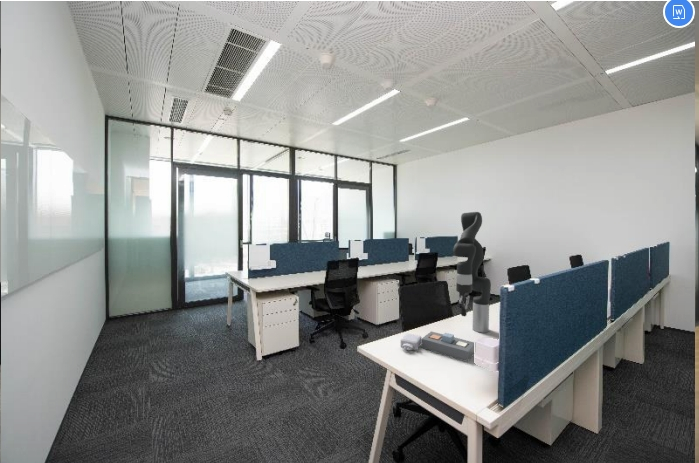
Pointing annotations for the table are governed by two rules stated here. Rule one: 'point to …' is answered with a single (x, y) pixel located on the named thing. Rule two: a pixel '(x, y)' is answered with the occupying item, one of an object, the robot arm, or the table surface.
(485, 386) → the table surface
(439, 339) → the key terracotta
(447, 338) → the light blue cube
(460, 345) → the key ivory
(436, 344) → the keypad
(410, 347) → the charger
